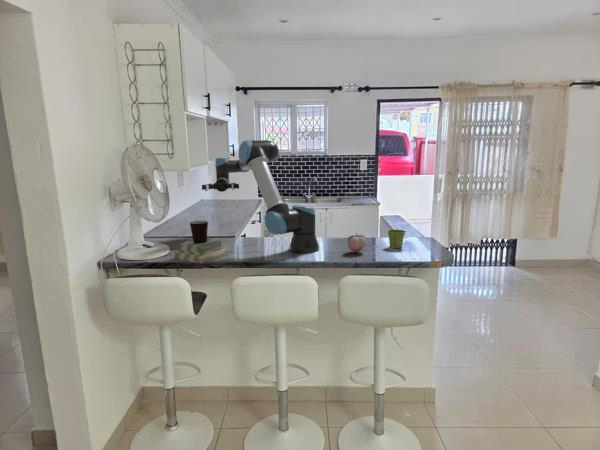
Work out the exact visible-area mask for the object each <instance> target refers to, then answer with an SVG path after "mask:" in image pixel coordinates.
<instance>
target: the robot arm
mask: <svg viewBox="0 0 600 450" xmlns="http://www.w3.org/2000/svg"><path fill="white" fill-rule="evenodd" d="M279 149H280V148H279V146H278V145H277V144H276V142H273V141H271V140H267V139H266V140H265V139H264V140H263V139H262V140H261V139H260V140H256V139H255V140H254V139H253V140H251V139H248V140H244V141H242V142H241V143H240V145H239V148H238V158H239V160H230V159H228V157H217V158H215V173H216V181H215V183H213V184H212V183H207V184H202V185H201V190H202V191H205V192H208V191H209V190H213V189H214V190H217V191H218V192H220V193H222V192H226V191H227V190H228V189H231V191H234V190H237V189H238V190H239V189H240V184H239V183H236V182H230V177H229V176H230V173H231V174H232V173H246V172H247V173H248V172H250V171H252V174H253V176H254V179H255V182H256V184H257V186H258V188H259V191H260V194H261V197H262V200H263V201H264V204H265V206H266V210H265V215H264V219H263V220H264V224H265V225H264V226H265V228H266V230H267V231H268V232H269V233H270V234H272V235H277V236H278V235H284V234H289V233H292V238H291V242H290V245H289V251H291V252H292V253H296V254H297V253H299V254H300V253H301V254H308V253H310V254H311V253H314V252H318V251H319V249H320V245H319V242H318V239H317V236H316V209H315V208H314V207H313V206H308V205H299V204H297V205H296V204H295V205H292V207H291V208H289V206H288V203H287V202H284V201H283V198H282V197H281V194H280V192H279V189H278V186H277V185H276V182H275V179H274V177H273V175H272V172H271V170H270V167H269V165H268V164H269V163H272V162H275V161H276V160H277V159H278V156H279V155H280V154H279V153H280V150H279Z"/></svg>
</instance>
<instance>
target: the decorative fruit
mask: <svg viewBox="0 0 600 450" xmlns="http://www.w3.org/2000/svg"><path fill="white" fill-rule="evenodd" d="M365 238H366V236H365V235H364V234H357V233H355V235H350V236H348V237H347V242H346V243H347V247H348V249H349V250H350V251H351V252H354V253H355V254H358V253H360V252H361V251H362V250H364V249H365V247H366V245H367V242H366V239H365Z"/></svg>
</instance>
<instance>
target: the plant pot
mask: <svg viewBox="0 0 600 450" xmlns="http://www.w3.org/2000/svg"><path fill="white" fill-rule="evenodd" d="M406 232H407V231H406V230H404V229H398V228H397V229H394V228H393V229H387V234H388V240H389V248H392V249H402V248H403V243H404V238H405V235H406Z"/></svg>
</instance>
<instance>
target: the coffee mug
mask: <svg viewBox="0 0 600 450" xmlns="http://www.w3.org/2000/svg"><path fill="white" fill-rule="evenodd" d="M208 224H209V221H207V220H193V221H190V222H189V226H190V231H191V236H192V240H193V242H194V243H198V244H199V243H206V242H207V239H208Z"/></svg>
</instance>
